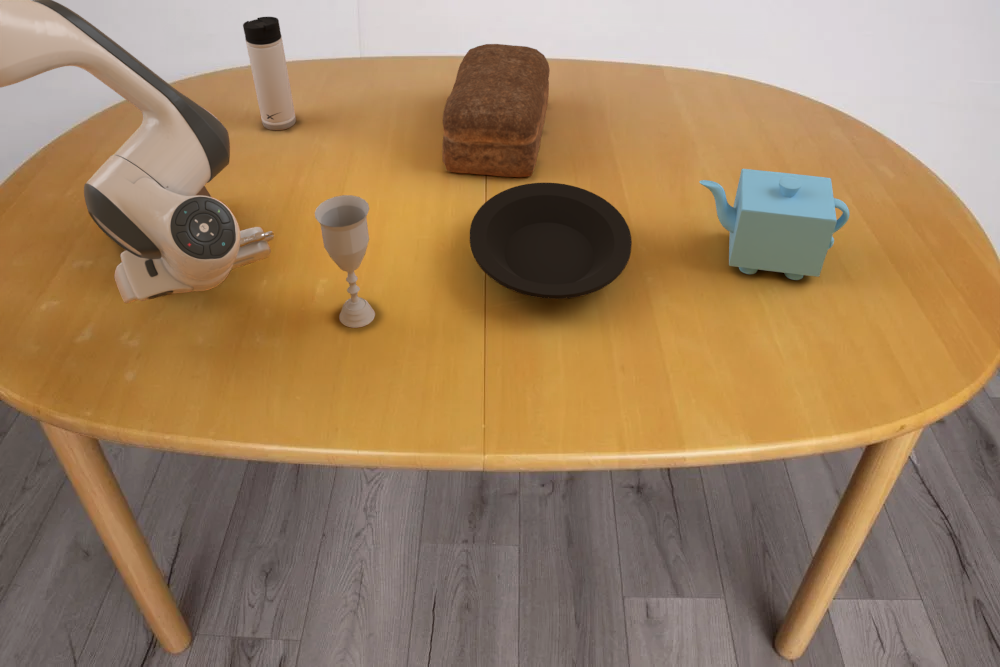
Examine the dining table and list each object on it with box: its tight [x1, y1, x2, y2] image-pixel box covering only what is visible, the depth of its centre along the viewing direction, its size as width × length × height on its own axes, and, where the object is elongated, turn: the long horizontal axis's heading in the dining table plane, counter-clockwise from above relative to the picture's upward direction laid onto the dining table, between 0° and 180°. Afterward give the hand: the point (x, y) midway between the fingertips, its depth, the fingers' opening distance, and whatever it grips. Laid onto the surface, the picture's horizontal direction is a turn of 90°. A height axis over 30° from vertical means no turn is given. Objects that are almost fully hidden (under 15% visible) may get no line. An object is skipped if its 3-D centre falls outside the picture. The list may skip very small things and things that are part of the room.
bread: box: [441, 43, 551, 178], centre depth 157 cm, size 17×30×13 cm, turn 172°
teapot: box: [699, 168, 851, 281], centre depth 130 cm, size 22×11×14 cm, turn 78°
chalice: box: [314, 194, 376, 329], centre depth 118 cm, size 7×7×18 cm
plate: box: [469, 182, 633, 300], centre depth 131 cm, size 28×24×6 cm
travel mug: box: [242, 16, 297, 131], centre depth 158 cm, size 6×7×20 cm
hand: (193, 274), depth 124 cm, fingers closed, pressing on drawer
